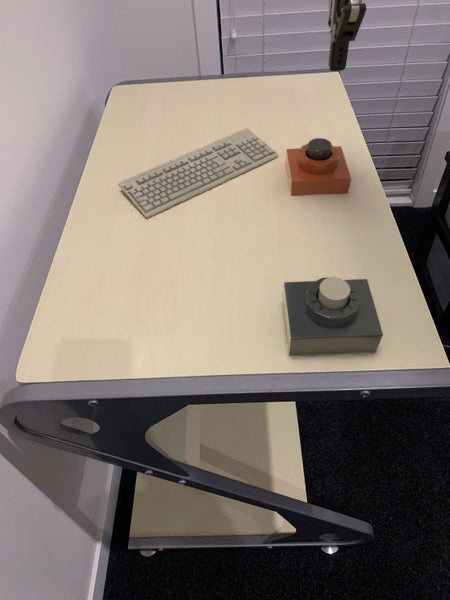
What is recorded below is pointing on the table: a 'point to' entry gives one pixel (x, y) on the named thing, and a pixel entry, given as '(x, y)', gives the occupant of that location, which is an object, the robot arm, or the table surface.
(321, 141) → the black button cap
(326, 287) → the grey cylindrical knob
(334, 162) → the button base
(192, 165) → the keyboard
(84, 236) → the table surface
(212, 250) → the table surface
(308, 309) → the push button box
